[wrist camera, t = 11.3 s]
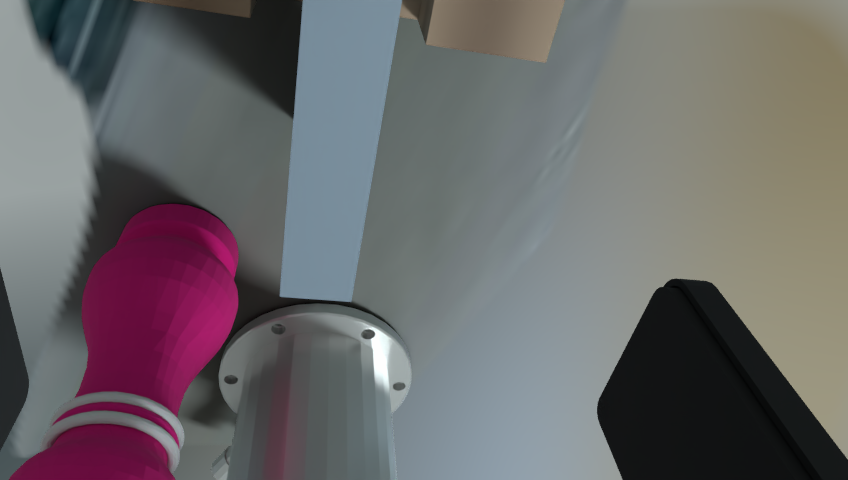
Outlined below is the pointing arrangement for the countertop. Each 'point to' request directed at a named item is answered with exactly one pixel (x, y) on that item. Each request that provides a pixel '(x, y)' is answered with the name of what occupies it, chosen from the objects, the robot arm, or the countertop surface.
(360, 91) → the light blue flat board
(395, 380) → the robot arm
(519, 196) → the countertop surface
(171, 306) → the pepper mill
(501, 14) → the brown wooden u-shaped block
